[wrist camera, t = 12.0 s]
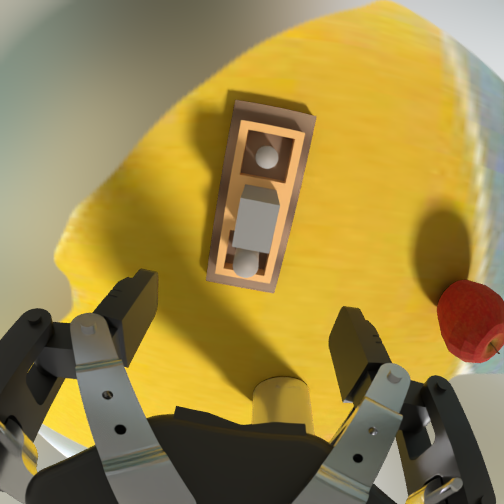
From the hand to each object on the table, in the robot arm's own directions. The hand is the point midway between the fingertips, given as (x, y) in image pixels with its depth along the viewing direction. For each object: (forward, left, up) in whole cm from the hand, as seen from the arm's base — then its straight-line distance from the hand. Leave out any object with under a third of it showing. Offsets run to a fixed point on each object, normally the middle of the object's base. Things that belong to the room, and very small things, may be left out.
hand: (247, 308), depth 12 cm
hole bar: (0, 0, -18) cm, 18 cm away
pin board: (0, 0, -20) cm, 20 cm away
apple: (-7, -31, -20) cm, 38 cm away
